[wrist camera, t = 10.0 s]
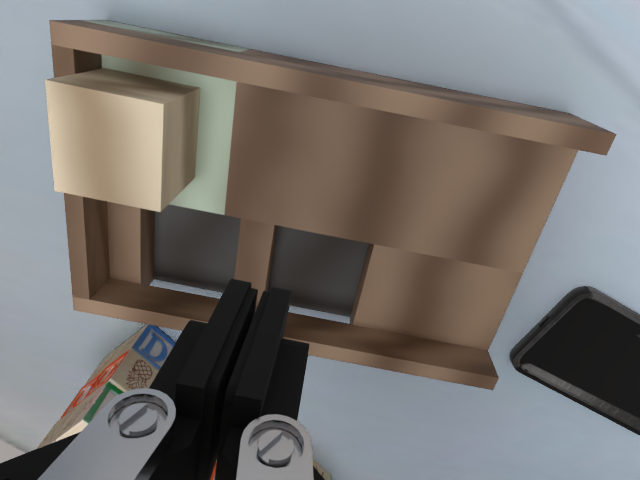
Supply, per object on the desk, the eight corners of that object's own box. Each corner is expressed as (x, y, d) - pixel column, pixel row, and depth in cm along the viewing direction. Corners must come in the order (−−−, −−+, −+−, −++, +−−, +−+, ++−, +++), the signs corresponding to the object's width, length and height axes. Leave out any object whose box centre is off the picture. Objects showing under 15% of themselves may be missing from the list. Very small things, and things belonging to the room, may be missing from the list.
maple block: (200, 87, 23) (163, 104, 19) (194, 178, 25) (160, 212, 21) (105, 67, 23) (45, 79, 19) (107, 160, 25) (54, 190, 21)
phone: (663, 447, 34) (506, 365, 32) (654, 435, 35) (501, 355, 33) (754, 382, 31) (587, 285, 29) (742, 371, 32) (579, 276, 30)
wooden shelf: (569, 113, 25) (616, 134, 20) (473, 338, 32) (492, 390, 28) (105, 19, 24) (49, 20, 20) (113, 268, 32) (73, 310, 27)
